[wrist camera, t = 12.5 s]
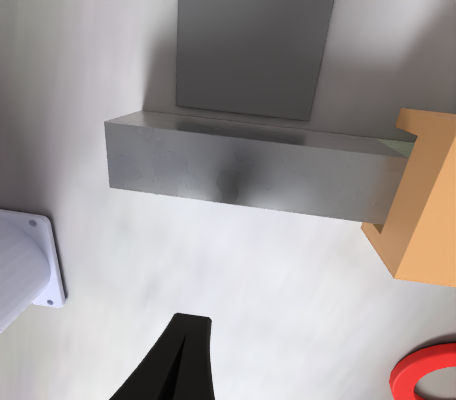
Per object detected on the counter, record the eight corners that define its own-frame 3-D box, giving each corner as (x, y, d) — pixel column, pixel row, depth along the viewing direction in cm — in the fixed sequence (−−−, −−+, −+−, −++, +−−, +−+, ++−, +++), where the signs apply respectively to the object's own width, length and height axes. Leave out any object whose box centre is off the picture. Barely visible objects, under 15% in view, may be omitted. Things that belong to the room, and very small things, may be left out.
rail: (143, 186, 17) (89, 237, 12) (140, 80, 15) (69, 85, 9) (459, 228, 16) (559, 307, 11) (513, 122, 14) (679, 154, 8)
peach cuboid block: (360, 228, 15) (394, 278, 11) (400, 107, 12) (461, 122, 9) (439, 238, 14) (500, 293, 11) (497, 118, 12) (601, 137, 8)
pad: (177, 105, 15) (176, 105, 15) (181, -94, 12) (179, -97, 12) (308, 120, 15) (308, 120, 15) (350, -83, 11) (352, -85, 11)
